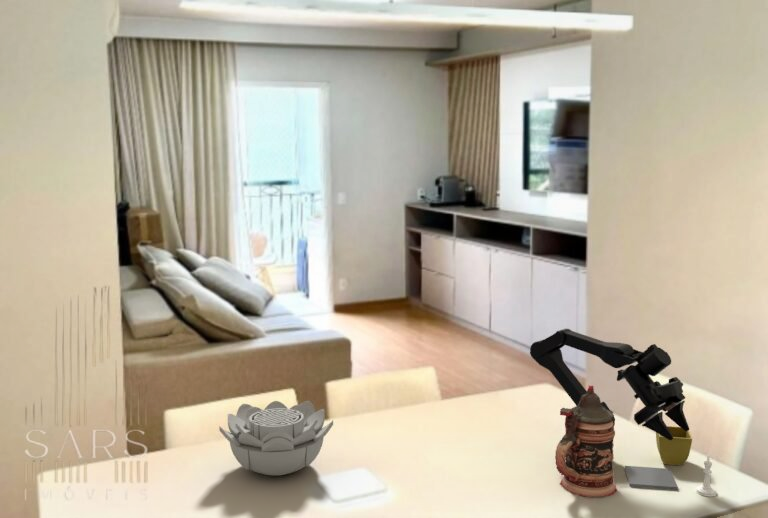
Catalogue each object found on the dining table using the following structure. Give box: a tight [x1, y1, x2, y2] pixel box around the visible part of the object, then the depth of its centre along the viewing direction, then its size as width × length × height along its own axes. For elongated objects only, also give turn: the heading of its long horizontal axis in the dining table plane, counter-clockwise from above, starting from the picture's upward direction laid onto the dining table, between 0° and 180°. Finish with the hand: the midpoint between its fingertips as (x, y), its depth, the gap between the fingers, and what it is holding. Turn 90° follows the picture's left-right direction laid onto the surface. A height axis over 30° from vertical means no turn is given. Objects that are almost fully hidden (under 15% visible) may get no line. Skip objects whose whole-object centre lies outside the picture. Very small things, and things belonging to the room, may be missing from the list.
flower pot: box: [655, 425, 693, 466], centre depth 225 cm, size 9×9×9 cm
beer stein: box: [554, 385, 618, 498], centre depth 209 cm, size 17×28×18 cm
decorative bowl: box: [218, 400, 334, 476], centre depth 221 cm, size 30×30×15 cm
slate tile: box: [624, 465, 679, 491], centre depth 215 cm, size 12×12×1 cm
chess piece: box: [695, 454, 717, 497], centre depth 206 cm, size 5×5×10 cm
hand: (680, 435), depth 210 cm, fingers open, 9 cm apart
